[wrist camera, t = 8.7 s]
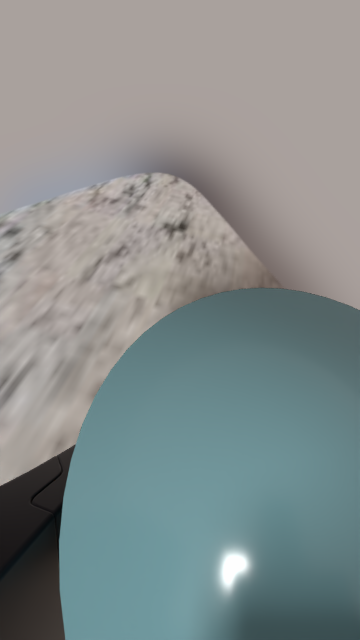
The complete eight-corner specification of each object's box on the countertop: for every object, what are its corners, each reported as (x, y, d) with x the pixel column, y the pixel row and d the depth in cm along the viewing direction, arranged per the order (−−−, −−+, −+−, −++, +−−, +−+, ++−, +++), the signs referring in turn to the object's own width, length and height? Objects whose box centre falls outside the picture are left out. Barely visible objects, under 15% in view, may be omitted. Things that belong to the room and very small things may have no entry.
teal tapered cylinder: (270, 500, 14) (730, 647, 3) (170, 565, 12) (227, 1609, 1) (217, 398, 16) (329, 251, 5) (129, 441, 15) (18, 365, 4)
